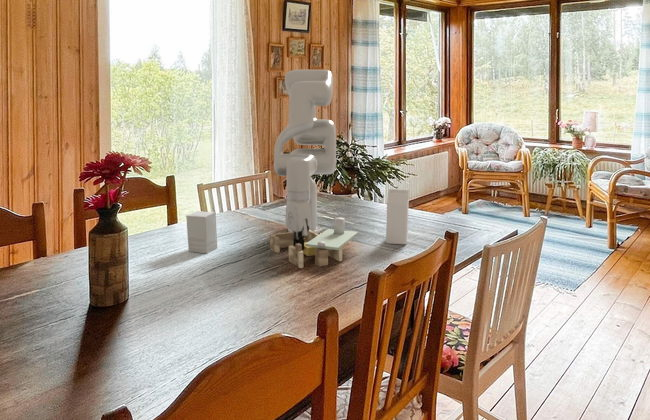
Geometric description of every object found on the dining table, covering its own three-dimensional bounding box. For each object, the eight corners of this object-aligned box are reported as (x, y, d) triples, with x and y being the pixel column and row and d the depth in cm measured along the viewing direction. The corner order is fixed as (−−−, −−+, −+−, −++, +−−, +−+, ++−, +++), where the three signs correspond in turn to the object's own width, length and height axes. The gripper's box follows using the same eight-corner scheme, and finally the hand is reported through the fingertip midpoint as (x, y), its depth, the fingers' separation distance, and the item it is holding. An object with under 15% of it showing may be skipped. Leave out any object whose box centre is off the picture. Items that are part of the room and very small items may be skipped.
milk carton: (406, 244, 193) (408, 191, 189) (385, 243, 195) (387, 190, 191) (407, 239, 200) (409, 188, 196) (387, 238, 202) (389, 187, 197)
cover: (328, 230, 191) (328, 214, 190) (358, 234, 187) (358, 217, 186) (303, 247, 172) (303, 229, 170) (336, 251, 168) (336, 232, 167)
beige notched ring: (270, 248, 188) (269, 228, 187) (309, 242, 195) (309, 223, 194) (302, 269, 167) (301, 247, 166) (344, 262, 174) (344, 240, 173)
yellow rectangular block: (299, 251, 186) (299, 243, 185) (309, 250, 187) (309, 242, 187) (307, 256, 181) (307, 247, 180) (317, 255, 182) (317, 246, 182)
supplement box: (218, 247, 190) (216, 212, 187) (206, 253, 183) (205, 216, 180) (199, 245, 192) (197, 210, 189) (187, 251, 185) (185, 215, 182)
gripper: (278, 192, 183) (279, 245, 187) (298, 201, 170) (298, 257, 174) (298, 190, 186) (299, 242, 191) (319, 198, 174) (319, 254, 178)
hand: (298, 249), depth 182 cm, fingers closed
